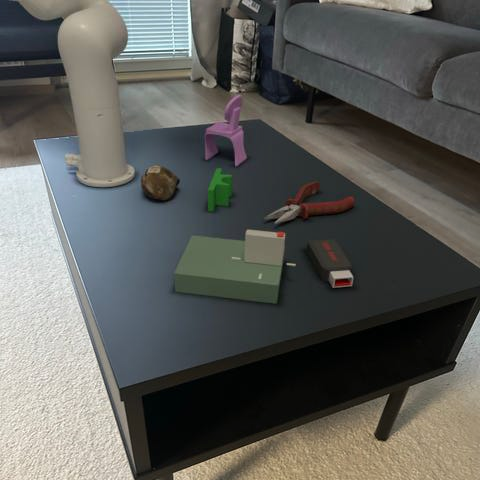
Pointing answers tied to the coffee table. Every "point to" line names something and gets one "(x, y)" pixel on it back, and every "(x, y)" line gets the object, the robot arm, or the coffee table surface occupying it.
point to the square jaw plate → (264, 247)
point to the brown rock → (159, 183)
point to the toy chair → (227, 132)
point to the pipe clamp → (219, 190)
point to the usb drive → (330, 262)
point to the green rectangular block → (225, 271)
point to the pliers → (309, 205)
